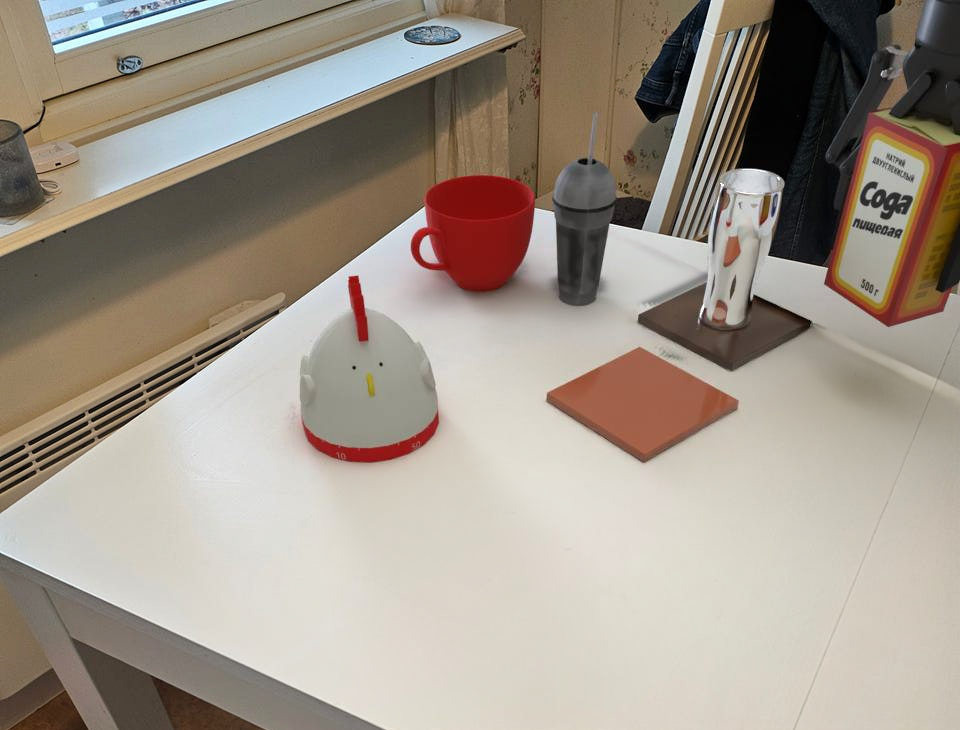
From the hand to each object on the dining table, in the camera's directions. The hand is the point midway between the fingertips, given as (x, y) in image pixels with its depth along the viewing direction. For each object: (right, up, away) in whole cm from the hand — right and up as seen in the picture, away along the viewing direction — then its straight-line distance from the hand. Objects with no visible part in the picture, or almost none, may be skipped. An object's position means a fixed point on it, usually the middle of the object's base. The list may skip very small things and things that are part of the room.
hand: (892, 265), depth 86 cm
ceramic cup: (-41, +8, +26) cm, 49 cm away
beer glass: (-11, +1, +18) cm, 21 cm away
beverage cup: (-27, +6, +24) cm, 37 cm away
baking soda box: (0, -2, +2) cm, 3 cm away
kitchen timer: (-50, -13, +7) cm, 53 cm away
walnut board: (-11, +1, +19) cm, 22 cm away
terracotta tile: (-23, -11, +8) cm, 26 cm away
